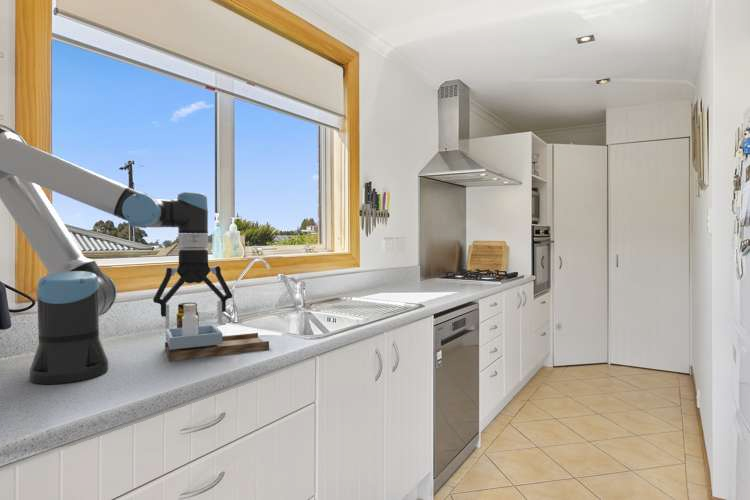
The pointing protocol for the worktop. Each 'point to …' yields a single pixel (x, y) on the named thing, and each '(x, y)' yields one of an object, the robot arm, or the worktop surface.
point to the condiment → (181, 314)
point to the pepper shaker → (189, 320)
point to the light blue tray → (193, 338)
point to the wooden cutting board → (220, 347)
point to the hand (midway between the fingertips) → (194, 326)
